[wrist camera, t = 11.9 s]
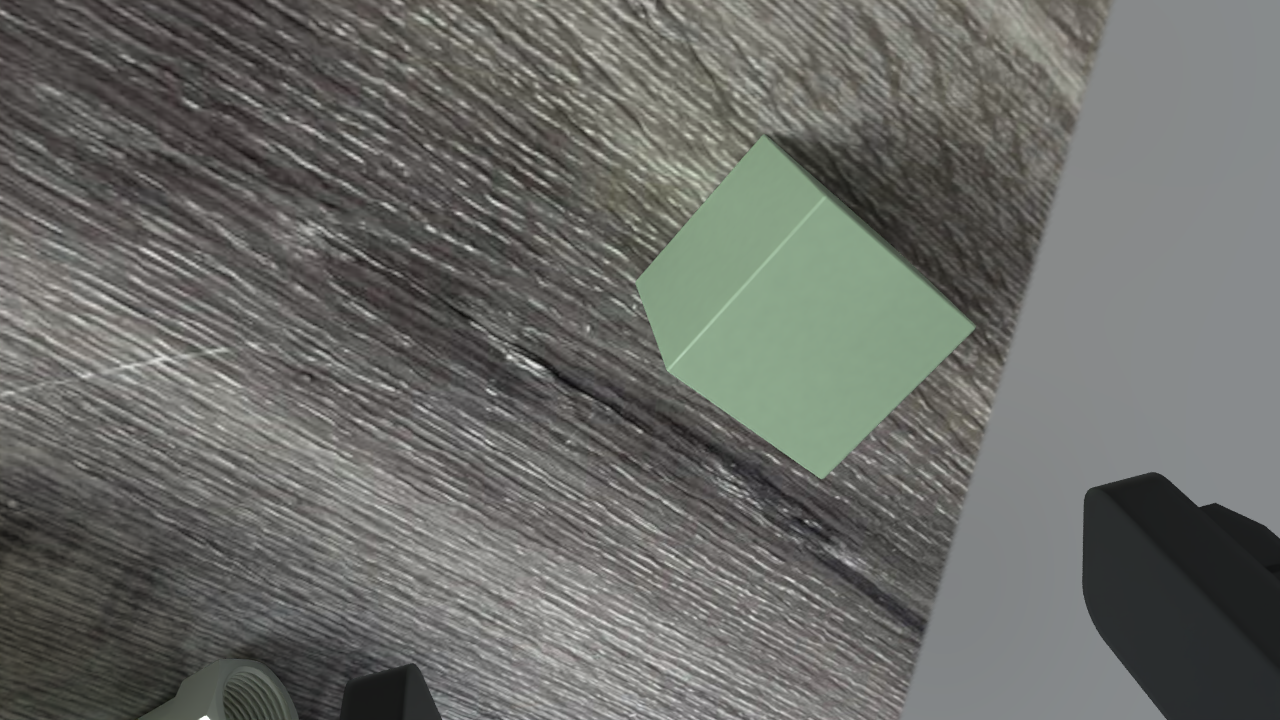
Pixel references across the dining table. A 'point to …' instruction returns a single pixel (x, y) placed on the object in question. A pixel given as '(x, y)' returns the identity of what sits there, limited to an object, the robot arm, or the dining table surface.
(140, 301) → the dining table surface
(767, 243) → the block
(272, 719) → the pipe fitting
